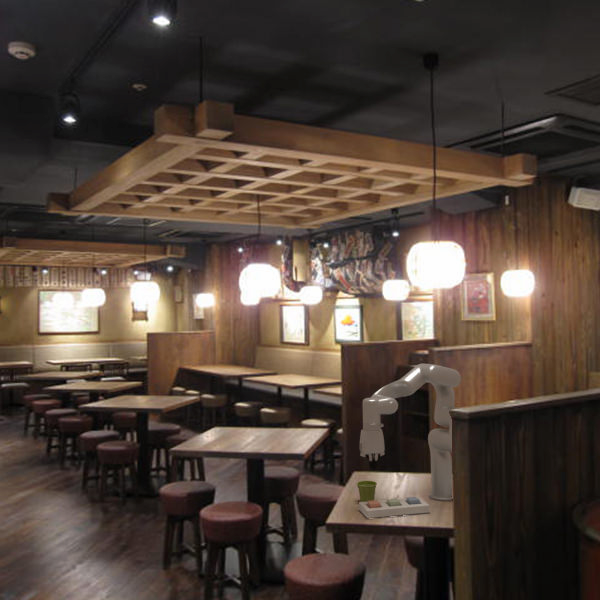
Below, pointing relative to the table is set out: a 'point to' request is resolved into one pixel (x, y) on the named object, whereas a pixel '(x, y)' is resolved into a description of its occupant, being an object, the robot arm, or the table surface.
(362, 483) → the plant pot
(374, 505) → the terracotta button
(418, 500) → the slate button
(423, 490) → the table surface
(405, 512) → the button panel
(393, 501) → the sage button
